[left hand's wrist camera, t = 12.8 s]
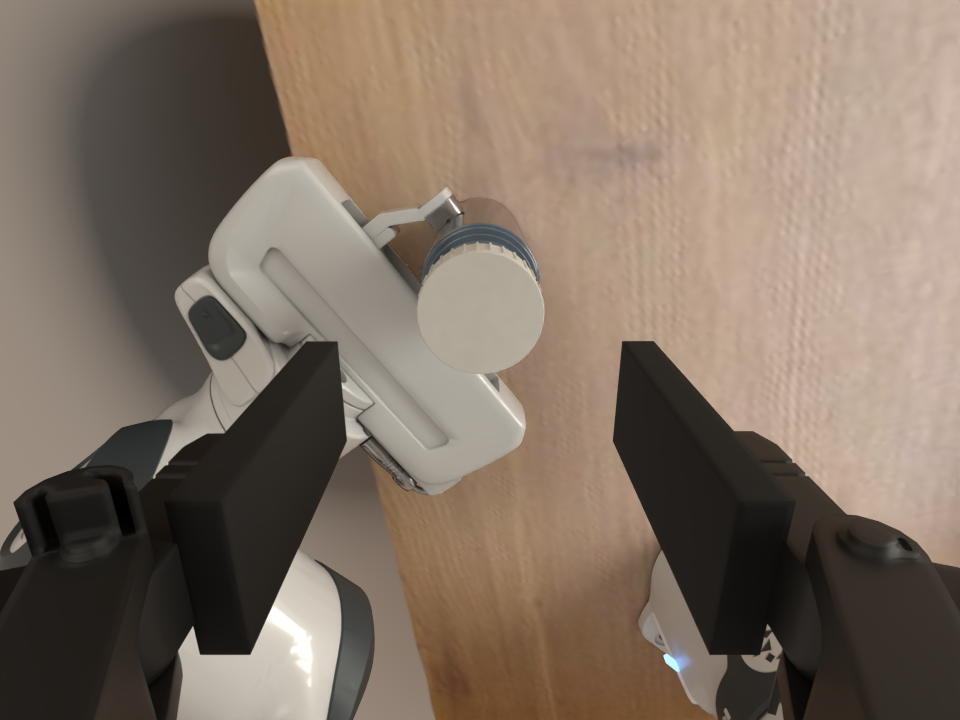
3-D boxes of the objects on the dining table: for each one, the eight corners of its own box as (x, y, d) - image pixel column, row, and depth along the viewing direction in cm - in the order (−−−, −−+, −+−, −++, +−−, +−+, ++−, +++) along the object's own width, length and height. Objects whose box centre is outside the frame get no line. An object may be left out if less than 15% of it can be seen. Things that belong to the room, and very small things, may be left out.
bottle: (485, 294, 38) (489, 403, 22) (423, 244, 37) (379, 322, 21) (536, 233, 37) (582, 302, 21) (474, 179, 36) (469, 208, 19)
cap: (488, 380, 23) (489, 399, 21) (395, 310, 22) (389, 324, 20) (565, 293, 22) (572, 306, 20) (471, 215, 21) (470, 221, 19)
